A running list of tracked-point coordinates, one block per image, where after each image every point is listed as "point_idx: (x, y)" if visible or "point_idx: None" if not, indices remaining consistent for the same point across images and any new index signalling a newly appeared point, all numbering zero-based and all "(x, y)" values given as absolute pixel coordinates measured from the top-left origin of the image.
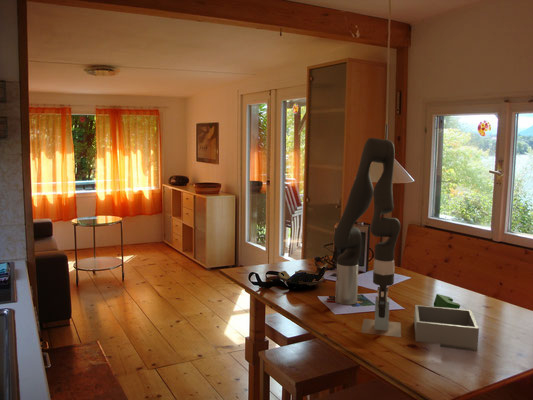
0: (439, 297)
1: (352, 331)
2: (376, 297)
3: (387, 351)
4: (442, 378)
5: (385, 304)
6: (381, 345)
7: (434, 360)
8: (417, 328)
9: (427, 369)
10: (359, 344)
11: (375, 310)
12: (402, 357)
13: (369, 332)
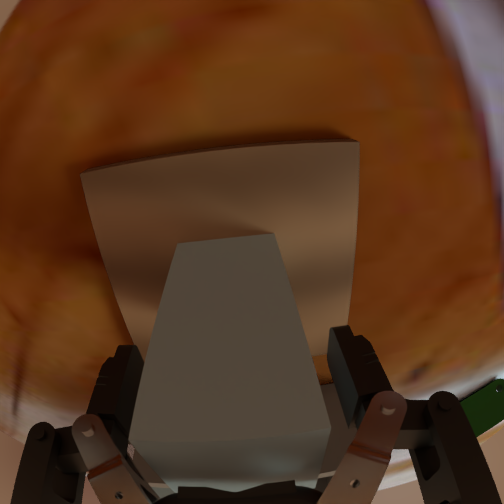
0: (499, 418)
1: (122, 97)
2: (282, 439)
3: (13, 317)
4: (6, 415)
5: (78, 480)
6: (39, 293)
7: (67, 422)
8: (135, 457)
9: (12, 401)
10: None
11: (150, 346)
12: (15, 359)
13: (107, 224)
